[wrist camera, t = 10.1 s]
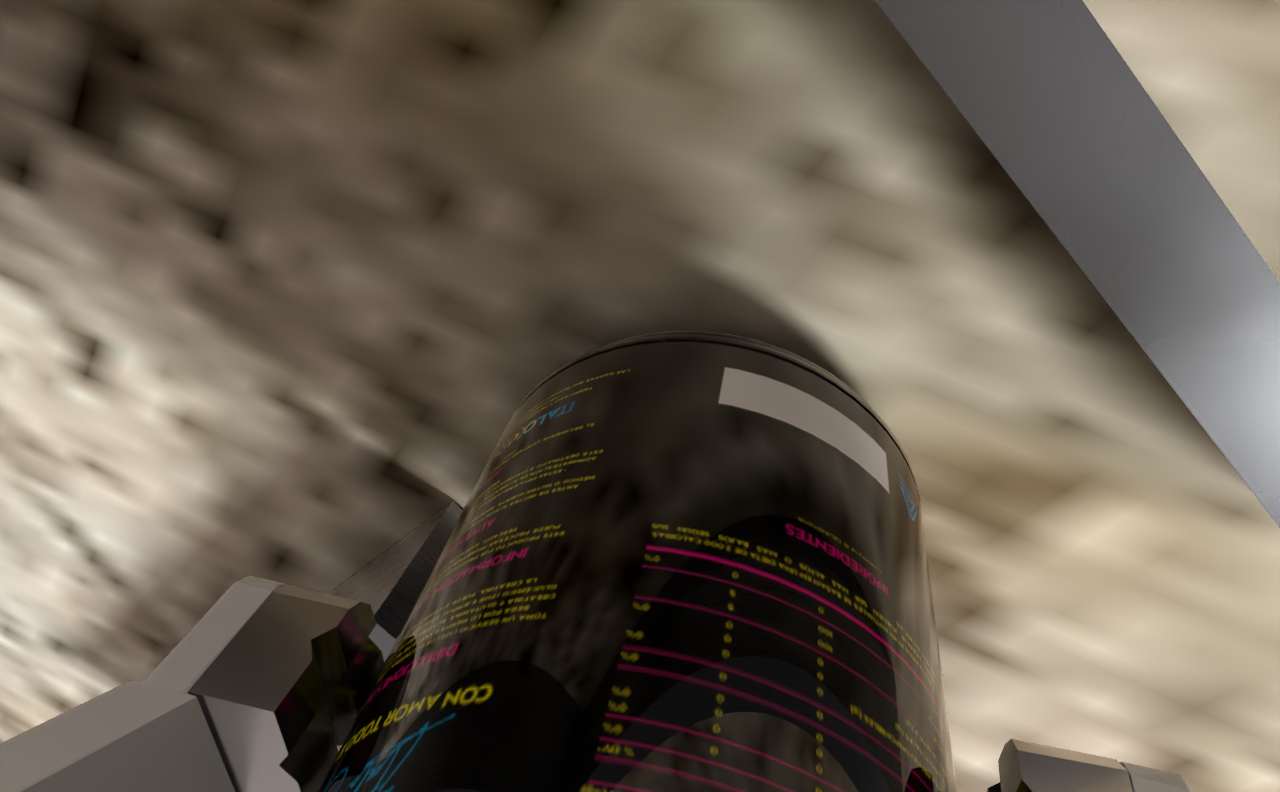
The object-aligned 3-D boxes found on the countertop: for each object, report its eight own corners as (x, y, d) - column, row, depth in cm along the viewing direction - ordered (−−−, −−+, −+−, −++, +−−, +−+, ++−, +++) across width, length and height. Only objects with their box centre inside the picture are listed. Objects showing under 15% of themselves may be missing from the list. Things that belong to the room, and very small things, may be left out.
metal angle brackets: (-257, 381, 20) (-419, 458, 17) (213, -1213, 7) (-179, -1801, 4) (391, 870, 25) (334, 985, 22) (1403, 479, 11) (1537, 652, 9)
